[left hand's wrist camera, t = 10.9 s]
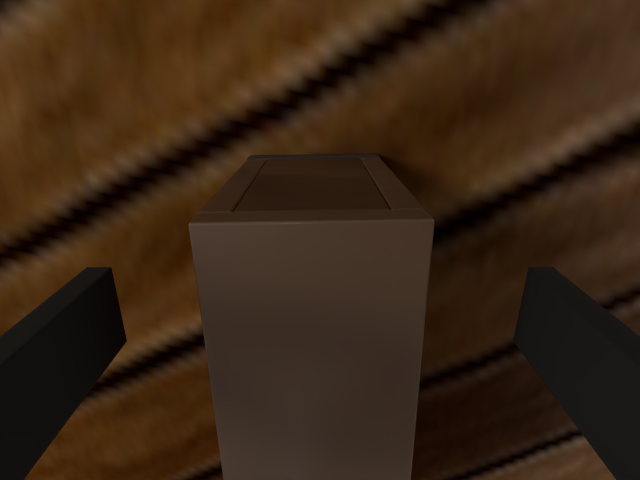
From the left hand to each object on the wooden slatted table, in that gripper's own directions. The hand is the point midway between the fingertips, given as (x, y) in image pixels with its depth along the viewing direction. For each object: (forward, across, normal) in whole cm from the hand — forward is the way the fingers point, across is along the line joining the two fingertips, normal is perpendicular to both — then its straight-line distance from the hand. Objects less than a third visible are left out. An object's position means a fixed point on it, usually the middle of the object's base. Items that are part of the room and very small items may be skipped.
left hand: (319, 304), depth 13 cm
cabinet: (+7, 0, -7) cm, 10 cm away
